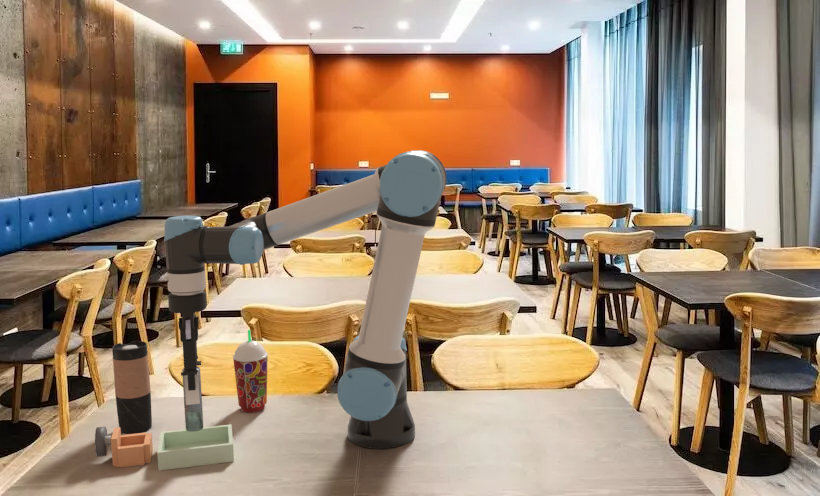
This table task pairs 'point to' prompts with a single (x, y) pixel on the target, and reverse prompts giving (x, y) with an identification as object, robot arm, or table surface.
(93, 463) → the table surface
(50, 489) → the table surface
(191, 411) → the pin
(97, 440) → the block
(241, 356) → the smoothie
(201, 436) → the tray
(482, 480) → the table surface
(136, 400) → the travel mug
